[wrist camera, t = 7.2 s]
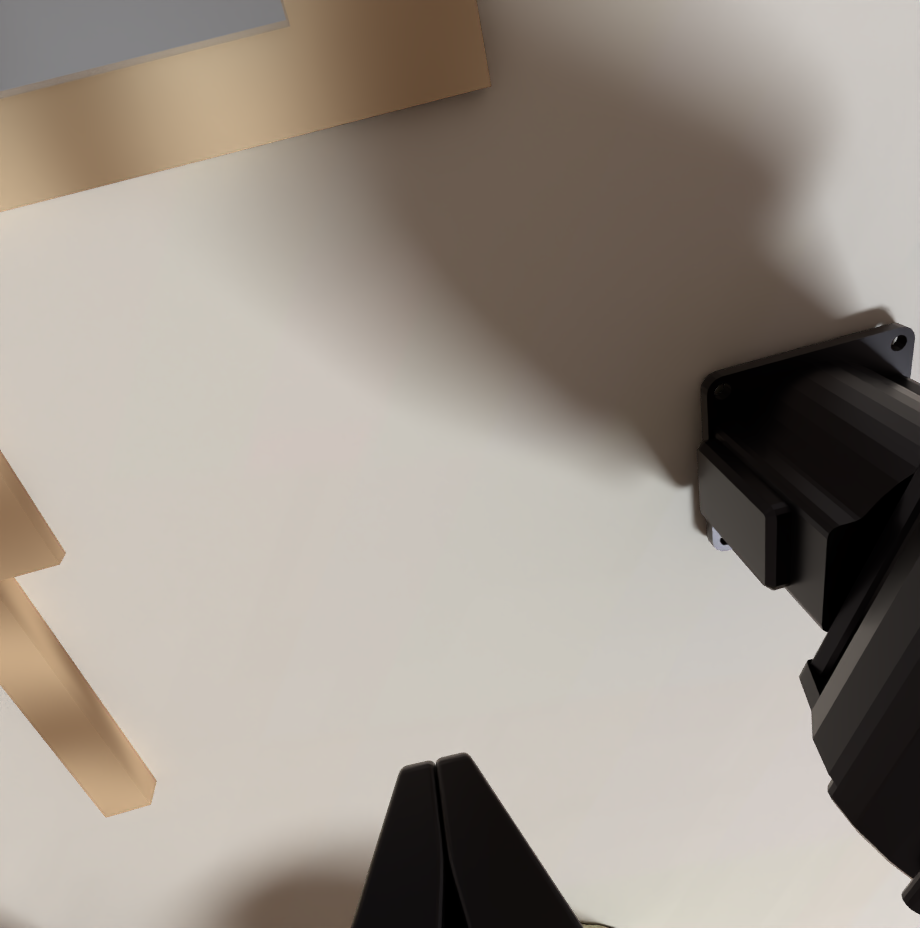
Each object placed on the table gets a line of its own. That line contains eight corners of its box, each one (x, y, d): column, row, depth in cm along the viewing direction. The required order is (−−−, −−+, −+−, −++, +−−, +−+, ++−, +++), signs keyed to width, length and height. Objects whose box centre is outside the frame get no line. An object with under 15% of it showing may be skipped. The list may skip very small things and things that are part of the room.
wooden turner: (-255, 417, 17) (-286, 434, 16) (-53, 364, 17) (-74, 378, 16) (67, 805, 25) (57, 831, 24) (202, 766, 25) (198, 790, 24)
